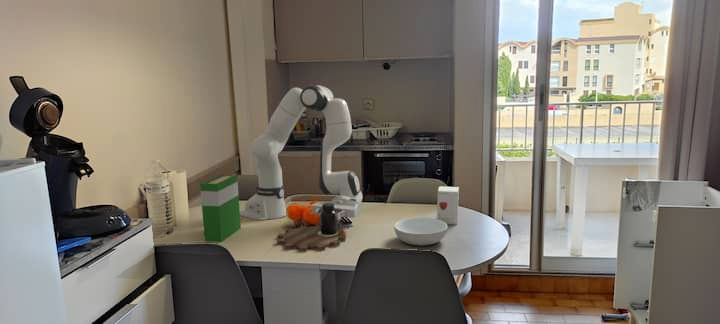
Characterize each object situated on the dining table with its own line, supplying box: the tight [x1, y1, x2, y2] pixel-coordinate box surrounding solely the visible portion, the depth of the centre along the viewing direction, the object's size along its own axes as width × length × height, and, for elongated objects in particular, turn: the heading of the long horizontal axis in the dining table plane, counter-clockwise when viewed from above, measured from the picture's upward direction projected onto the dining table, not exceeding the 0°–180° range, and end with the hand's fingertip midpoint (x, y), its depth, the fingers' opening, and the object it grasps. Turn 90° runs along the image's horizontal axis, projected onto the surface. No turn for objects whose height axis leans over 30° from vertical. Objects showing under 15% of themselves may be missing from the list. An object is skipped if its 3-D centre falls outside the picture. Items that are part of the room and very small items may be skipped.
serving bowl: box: [393, 217, 449, 246], centre depth 194 cm, size 21×21×7 cm
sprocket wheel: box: [276, 224, 347, 253], centre depth 200 cm, size 28×28×2 cm
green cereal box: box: [199, 173, 242, 243], centre depth 205 cm, size 18×7×24 cm, turn 168°
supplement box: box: [436, 186, 460, 225], centre depth 218 cm, size 9×9×15 cm
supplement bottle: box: [319, 203, 338, 235], centre depth 201 cm, size 7×7×12 cm
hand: (326, 214), depth 200 cm, fingers open, 8 cm apart
